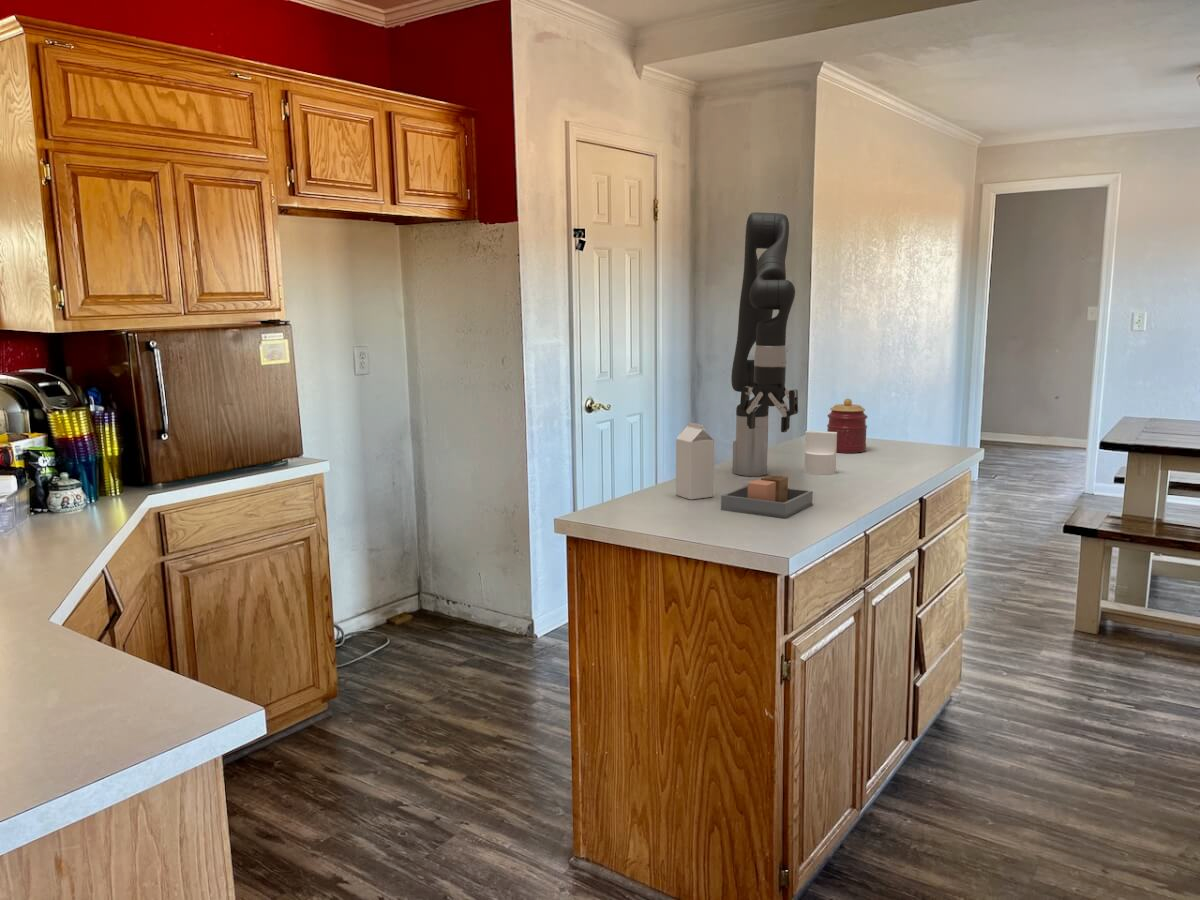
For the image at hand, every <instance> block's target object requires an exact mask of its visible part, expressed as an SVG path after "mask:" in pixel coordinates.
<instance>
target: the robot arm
mask: <svg viewBox="0 0 1200 900" xmlns="http://www.w3.org/2000/svg"><path fill="white" fill-rule="evenodd" d="M789 233H790V221H789V218H788V217H787V215H786V214H783V213H779V212H777V213H776V212H759V211H757V212H751V213H750V214H749V215H748V217H747V219H746V226H745V235H744V237H745V242H744V262H743V275H742V276H743V277H742V285H741V291H740V299H739V310H738V321H737V322H738V324H737V337H736V343H735V350H734V351H735V352H734V356H733V362H732V368H731V381H730V382H731V387H732V389H733V390H734V391H735V392H739V393H740V399H739V400H740V402H739V404H737V406H736V408H735V411H736V413H735V415H736V416H735V440H733V441H732V469H731V471H732V474H736V475H739V476H745V477H761V476H765V475H766V476H767V475H768V451H769V450H768V447H769V446H768V445H769V443H768V442H769V412H770V411H769V410H770V409H769V408H770V407H775V408H776V410H777V411H779V413H780V414H781V416H782V417H781V419H780V422H781V423H780V432H781V433H786V432H788V430H789V429H790V420H791V416H794V415H796V414H797V415H798V413H799V398H798V395H799V394H798V392H799V391H798V389H796V388H794V389H786V375H787V374H786V371H787V370H786V369H787V351H786V350H787V349H786V340H787V339H786V338H787V335H786V334H787V325H788V320H789V315H790V313H791V310H792V305H793V303H794V300H795V296H796V288H795V285H794V284H793V282H791V280H789V279H787V274H786V258H787V251H788V246H789V245H788V244H789V236H790V234H789ZM757 249H763V250H764V249H765V251H764V252H762V253H761V254H760V256H759V257H758V254H757ZM774 311H778V314H777V315H776V316H774V317H773V314H774ZM754 344H755V348H754V349H755V350H754V354H753V355H754V359H748V357H749V356H750V355H749V354H750V352H751V350H752V348H753V347H754ZM752 394H753V396H754V397H752V398H750V396H751V395H752ZM785 396H786V398H787V399H788V404H787V403H786V401H785V399H784V398H785Z"/></svg>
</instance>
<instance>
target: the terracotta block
mask: <svg viewBox="0 0 1200 900" xmlns="http://www.w3.org/2000/svg"><path fill="white" fill-rule="evenodd" d="M747 485H748V497H747V498H751V499H759V500H767V501H774V502H775V495H776V482H773V481H765V480H761V479H754V480H752V481H749V482H747Z"/></svg>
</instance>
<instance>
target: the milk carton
mask: <svg viewBox="0 0 1200 900" xmlns="http://www.w3.org/2000/svg"><path fill="white" fill-rule="evenodd" d="M686 424H687V425H686V427H685V428H684V429H683V430H682V431H681V432H680V433H679V434H678V435H677V437H676V438H675V495H676V496H679V497H683V498H685V499H688V500H697V499H703V498H704V499H706V498H713V497H714V483H715V482H714V481H715V479H714V474H715V473H714V469H715V468H714V467H715V439H714V438H713V437H712V436H711V435H710V434H709V433H708V431H707V430H706V429H705V428H704V425H703V424H699V423H693V422H689V421H687V423H686Z"/></svg>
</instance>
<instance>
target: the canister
mask: <svg viewBox="0 0 1200 900" xmlns="http://www.w3.org/2000/svg"><path fill="white" fill-rule="evenodd" d="M830 411H831V412H830V413H828V414H827V415H826V416H827V418H828V423H827V424H826V427H827V431H826V432H837V448H836V453H838V452H840V453H839V454H859V453H858V452H861V453H863V452H864V453H865V451H866V449H867V428H868V425H867V422H866V420H867V419H868V415H867V414H866V413H865V411H866V409H865V408H864V407H862V406H861V405H859V404H853V401H852V399H850V398H845V399H844V400H843V403H839V404H835V405H833V406H832V407H830Z"/></svg>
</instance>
